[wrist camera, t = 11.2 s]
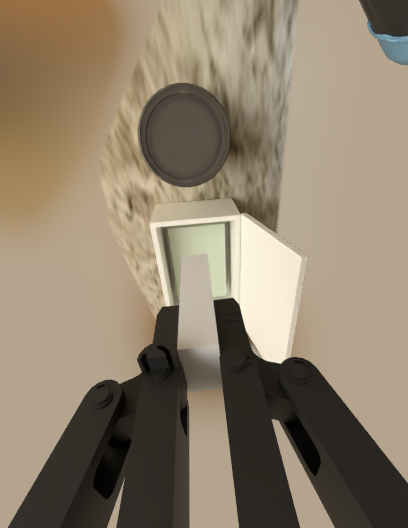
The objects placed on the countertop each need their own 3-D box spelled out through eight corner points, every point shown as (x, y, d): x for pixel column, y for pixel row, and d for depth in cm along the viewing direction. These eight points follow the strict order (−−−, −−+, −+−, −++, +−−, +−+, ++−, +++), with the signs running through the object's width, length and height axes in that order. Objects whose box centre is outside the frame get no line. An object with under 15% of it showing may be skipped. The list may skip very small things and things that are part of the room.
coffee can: (185, 75, 35) (185, 55, 23) (230, 134, 40) (249, 143, 28) (138, 129, 38) (117, 136, 26) (184, 179, 43) (184, 204, 31)
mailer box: (172, 297, 56) (170, 326, 49) (155, 204, 45) (149, 223, 37) (232, 291, 57) (239, 319, 49) (231, 197, 45) (240, 214, 37)
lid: (280, 385, 37) (285, 383, 37) (301, 257, 25) (309, 255, 25) (239, 321, 49) (244, 320, 49) (241, 213, 37) (246, 212, 37)
